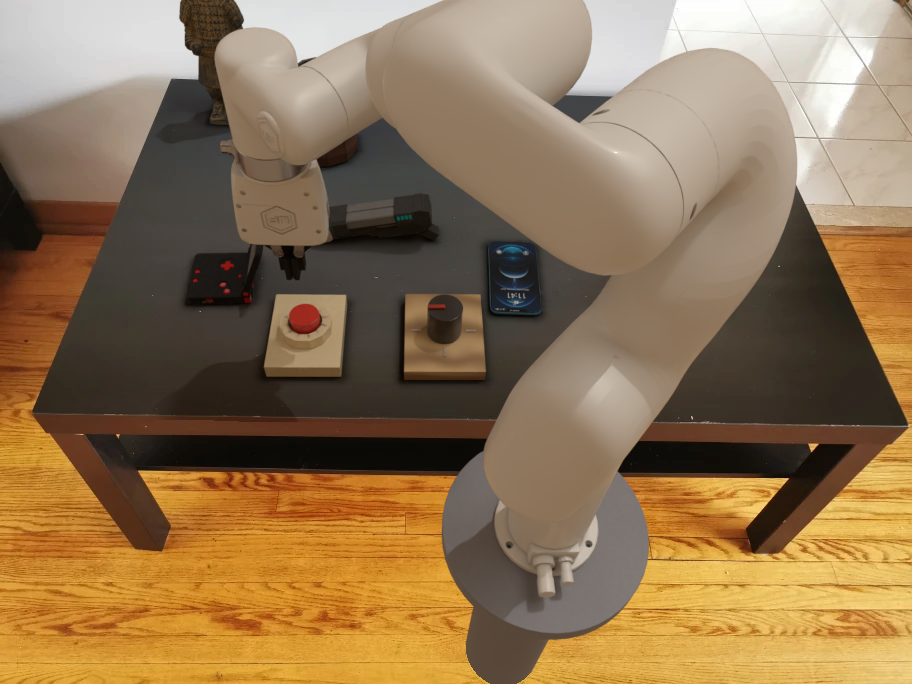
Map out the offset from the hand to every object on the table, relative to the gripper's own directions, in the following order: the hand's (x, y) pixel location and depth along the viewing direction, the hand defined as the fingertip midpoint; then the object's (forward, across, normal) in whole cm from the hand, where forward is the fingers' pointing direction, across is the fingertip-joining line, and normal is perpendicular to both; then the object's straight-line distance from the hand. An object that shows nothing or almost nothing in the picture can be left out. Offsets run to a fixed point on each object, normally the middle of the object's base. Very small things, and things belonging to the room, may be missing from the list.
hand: (294, 271), depth 89 cm
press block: (+13, 0, 0) cm, 13 cm away
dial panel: (+13, +19, 0) cm, 23 cm away
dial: (+11, +19, 0) cm, 22 cm away
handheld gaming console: (+14, -12, +11) cm, 21 cm away
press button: (+10, 0, 0) cm, 10 cm away
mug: (+14, -1, +46) cm, 48 cm away
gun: (+14, +8, +21) cm, 26 cm away
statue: (+14, -19, +53) cm, 58 cm away
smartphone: (+13, +30, +12) cm, 35 cm away
